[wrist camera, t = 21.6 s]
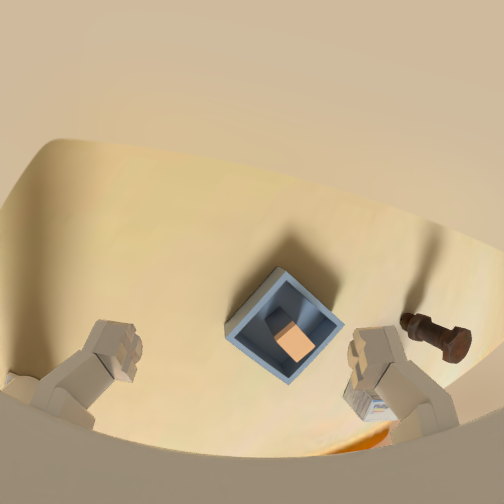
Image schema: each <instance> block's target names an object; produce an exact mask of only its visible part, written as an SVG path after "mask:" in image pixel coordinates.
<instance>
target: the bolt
mask: <svg viewBox="0 0 504 504" xmlns="http://www.w3.org/2000/svg"><path fill="white" fill-rule="evenodd" d="M401 319H402V320H400V325H401V327H402V329H403V330H405V331H407V332H408V337H409V338H410V339H412V340H415V341H423V340H424V341H426V342H428V343H430V344H432V345H433V346H435V347H437V348H439V349H441V350H442V351H443V360H444V361H446V362H449V363H455V364H457V363H459V362H460V361H461V360H462V359H463V358H464V357H465V356H466V355H467V353H468V350H469V348H470V345H471V341H472V337H471V331H470V330H468V329H465V328H461V327H456V326H455V327H454V329H453V330H449V329H447V328H444V327H442V326H440V325H437V324H434V323H432V321H431V317H428V316H426V315H422V314H418V313H417V314H416V315H413V314H411V313H406V314H404V315H403V316H402V318H401Z"/></svg>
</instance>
